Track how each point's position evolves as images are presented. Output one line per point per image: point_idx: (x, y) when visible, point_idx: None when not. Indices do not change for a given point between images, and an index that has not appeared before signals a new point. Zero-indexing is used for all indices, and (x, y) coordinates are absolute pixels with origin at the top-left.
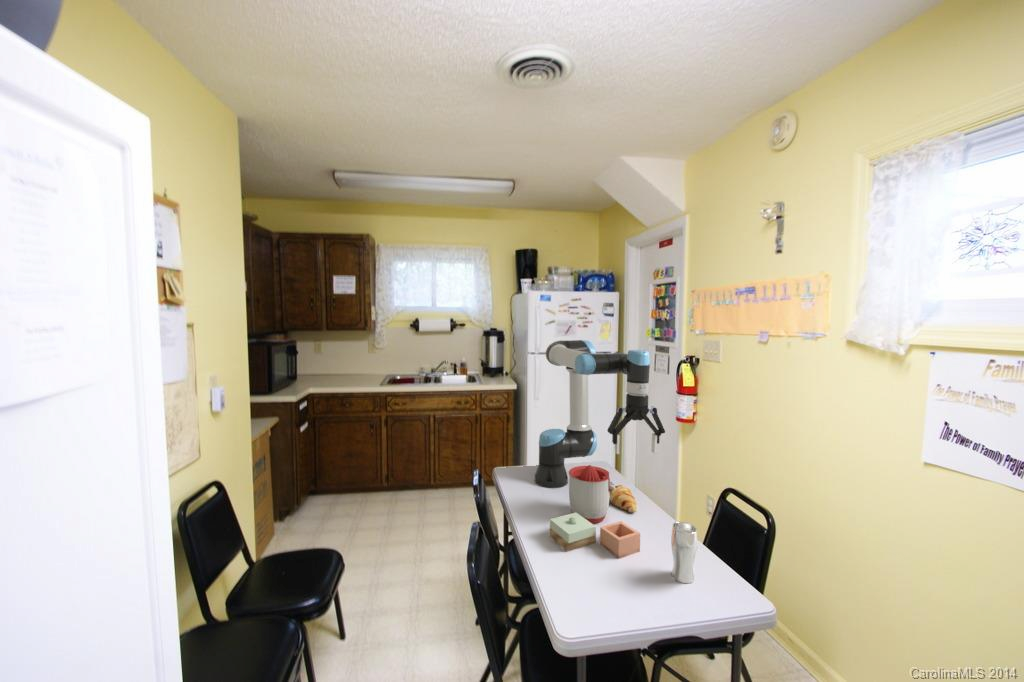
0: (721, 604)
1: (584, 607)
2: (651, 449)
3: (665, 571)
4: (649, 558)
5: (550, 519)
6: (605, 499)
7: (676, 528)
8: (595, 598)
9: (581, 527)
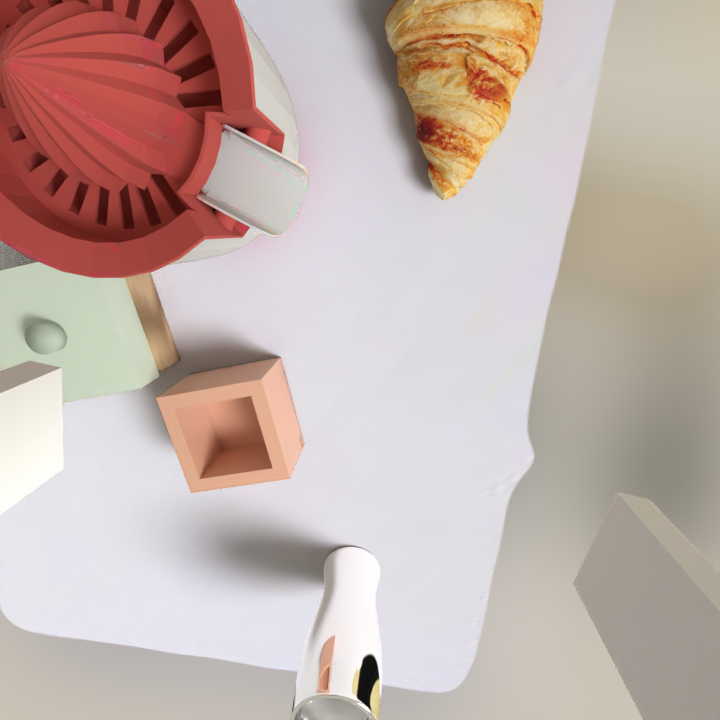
0: None
1: (64, 580)
2: (629, 511)
3: (321, 539)
4: (313, 481)
5: None
6: (227, 250)
7: (333, 668)
8: (97, 565)
9: (80, 379)
